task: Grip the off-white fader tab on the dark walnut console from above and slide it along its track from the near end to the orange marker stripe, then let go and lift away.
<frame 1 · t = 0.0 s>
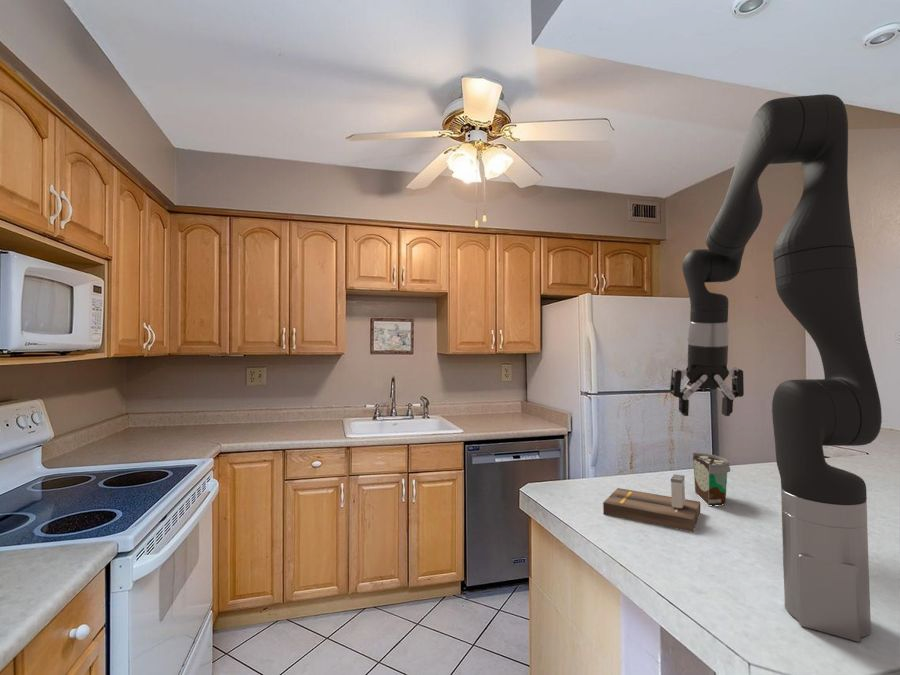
hand: (705, 415, 98), 22 cm above the countertop, tool pointing down, fingers open, 8 cm apart
fader tab: (678, 490, 97), point 6 cm above the countertop, slide at -5.5 cm
food container: (715, 500, 108), on the countertop
fader console: (651, 513, 100), on the countertop
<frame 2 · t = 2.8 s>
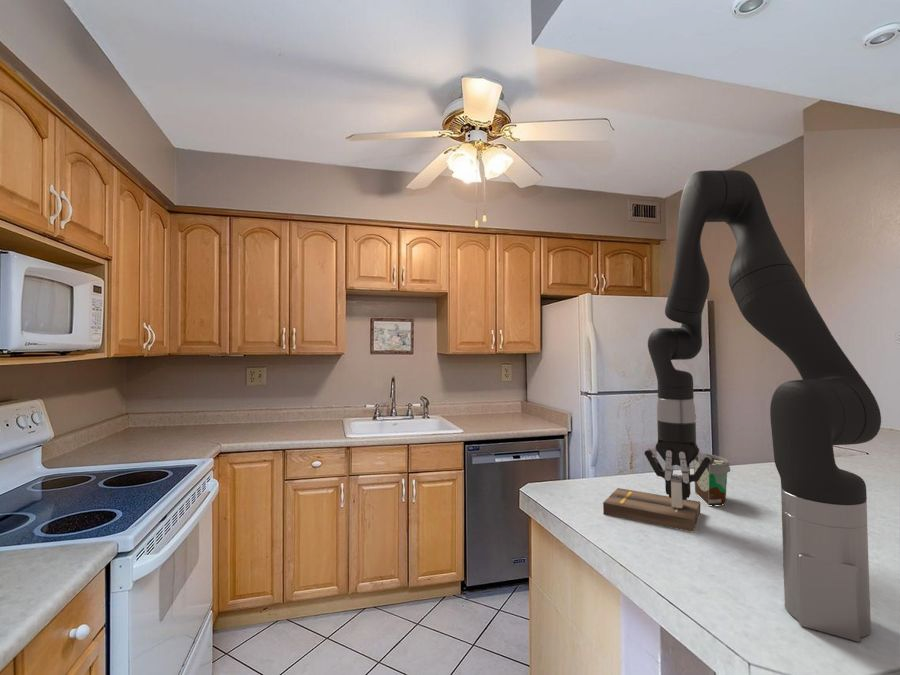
hand: (678, 497, 97), 5 cm above the countertop, tool pointing down, fingers closed on fader tab, 2 cm apart
fader tab: (677, 490, 97), point 6 cm above the countertop, slide at -5.5 cm, touching gripper
everything else where it was.
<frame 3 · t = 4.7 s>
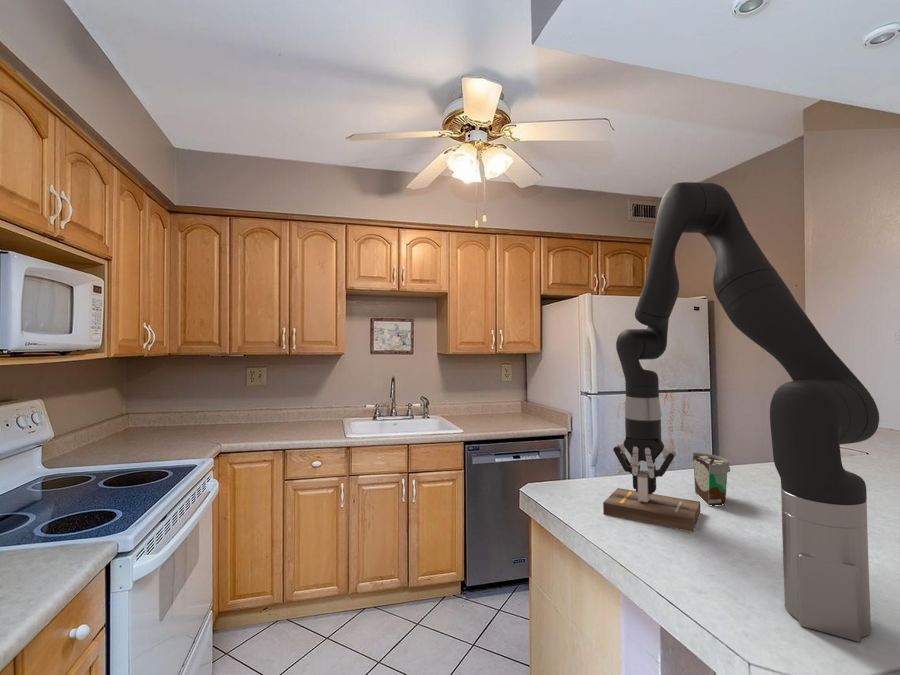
hand: (644, 492, 101), 5 cm above the countertop, tool pointing down, fingers closed on fader tab, 2 cm apart
fader tab: (644, 485, 101), point 6 cm above the countertop, slide at 1.4 cm, touching gripper
everything else where it was.
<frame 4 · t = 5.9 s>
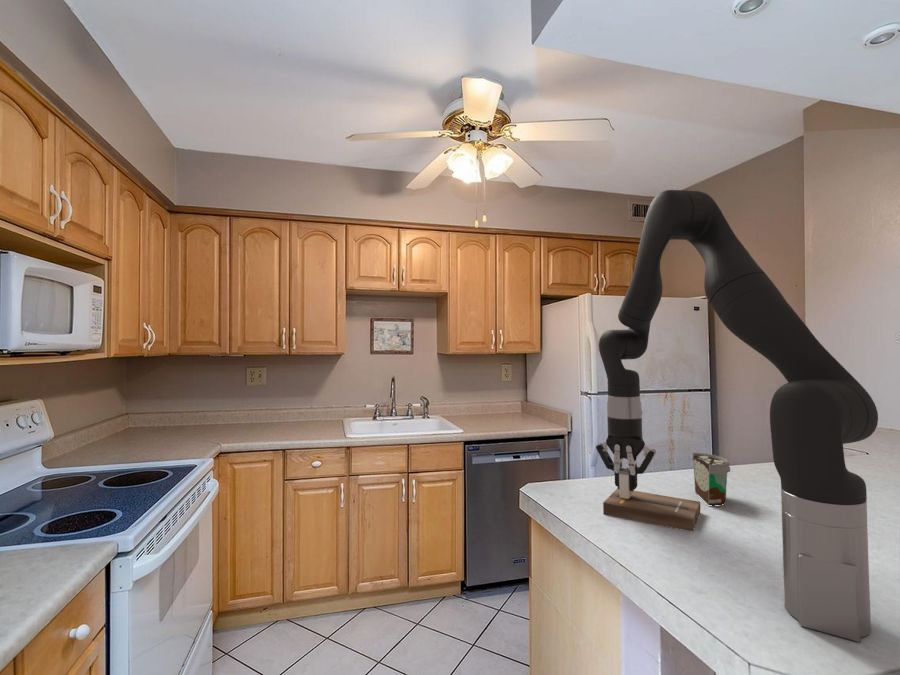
hand: (626, 488, 104), 5 cm above the countertop, tool pointing down, fingers closed on fader tab, 2 cm apart
fader tab: (626, 482, 104), point 6 cm above the countertop, slide at 5.4 cm, touching gripper
everything else where it was.
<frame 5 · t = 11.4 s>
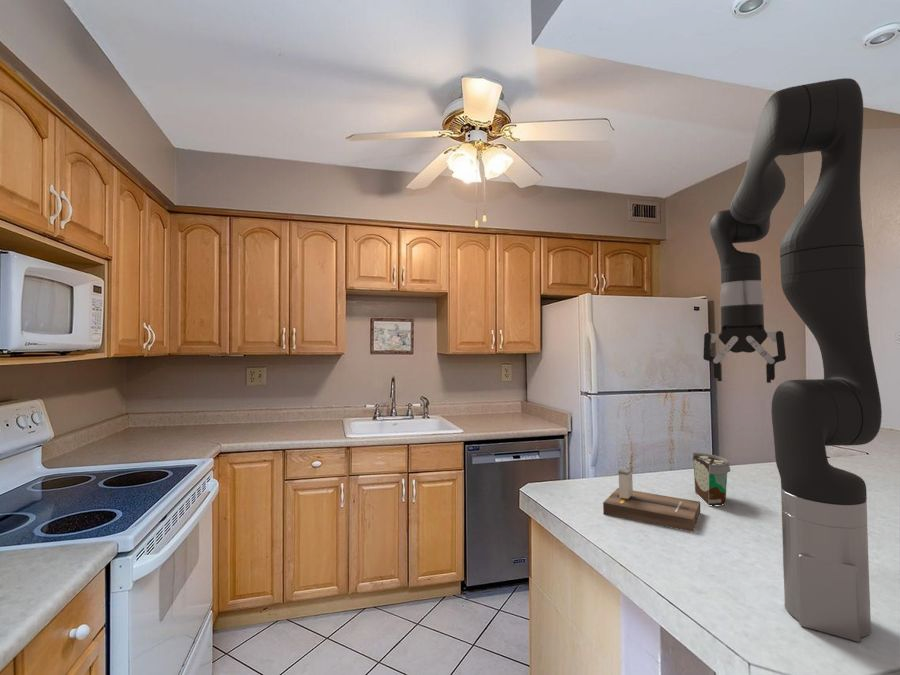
hand: (743, 381, 93), 30 cm above the countertop, tool pointing down, fingers open, 8 cm apart
fader tab: (625, 482, 104), point 6 cm above the countertop, slide at 5.5 cm
everything else where it was.
at the end: fader tab slide at 5.5 cm; food container moved 0.2 cm from its start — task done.
